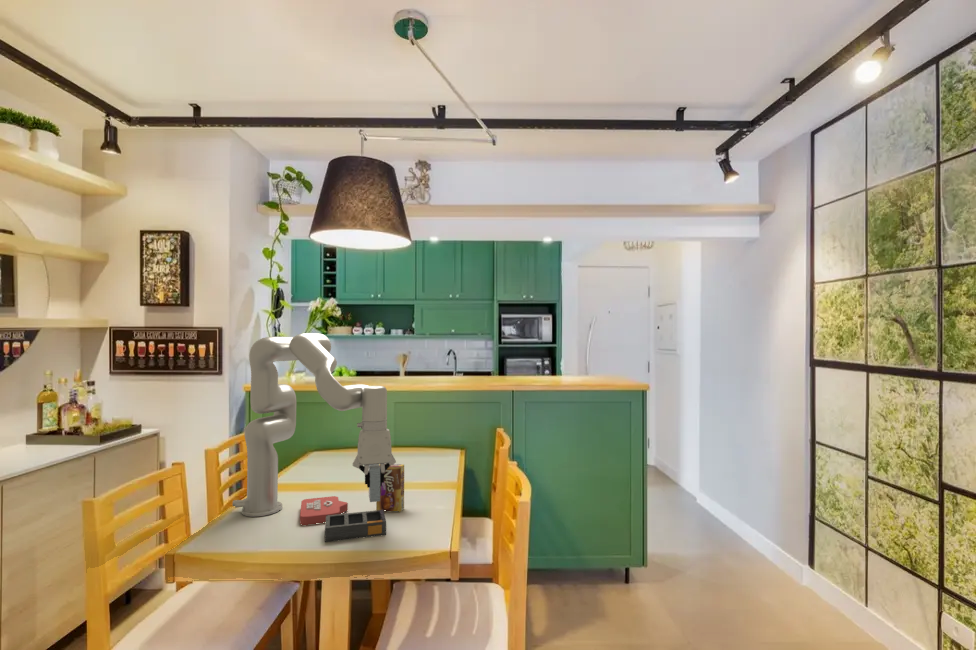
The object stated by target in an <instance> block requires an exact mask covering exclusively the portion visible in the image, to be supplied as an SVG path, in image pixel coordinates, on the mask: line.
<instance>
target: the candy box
mask: <svg viewBox="0 0 976 650" xmlns="http://www.w3.org/2000/svg"><path fill="white" fill-rule="evenodd" d="M385 464H386V463H385ZM385 464H384V465H385ZM379 465H380V464H379ZM375 507H376V510H383V511H384V510H386V511H384V512H387V511H399V512H398V513H401V512H402V511H403V510H404V509H405V464H399V463H394V464H393V465H391V466H389V468H388V469H387V470H386V471H385V472H384V483H382V486H380V501H377V502H376V506H375Z"/></svg>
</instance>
